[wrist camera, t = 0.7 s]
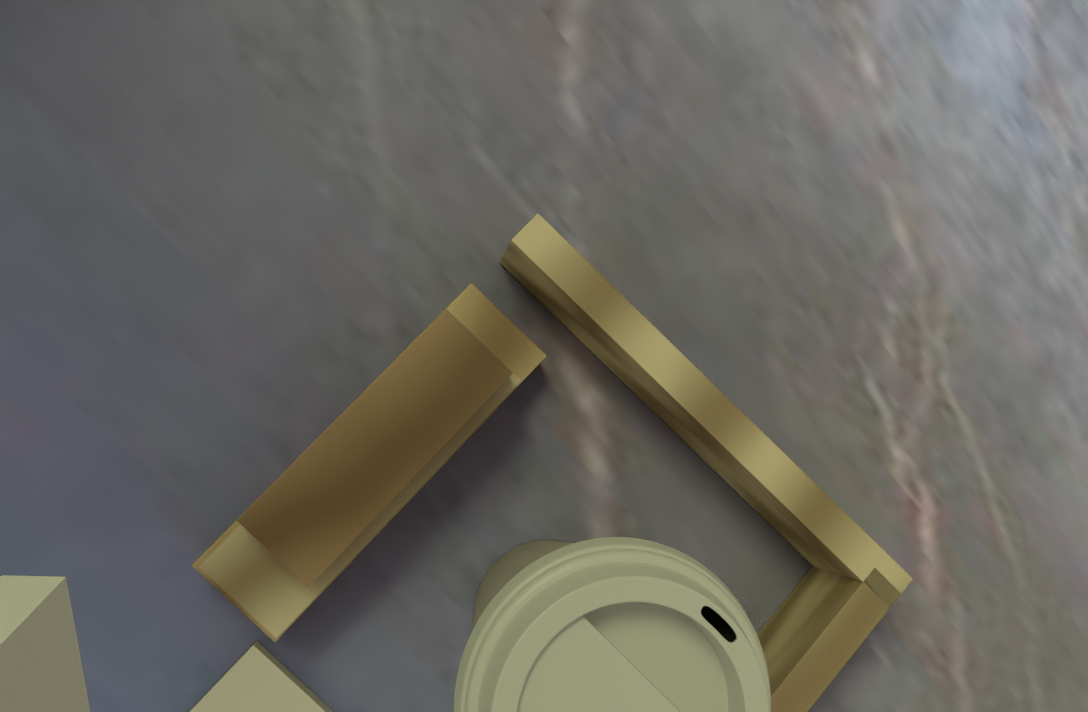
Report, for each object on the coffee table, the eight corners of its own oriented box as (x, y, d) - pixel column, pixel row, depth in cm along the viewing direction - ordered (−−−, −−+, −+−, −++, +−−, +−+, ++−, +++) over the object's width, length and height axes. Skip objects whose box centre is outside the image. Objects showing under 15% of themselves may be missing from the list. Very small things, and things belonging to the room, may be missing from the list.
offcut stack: (204, 557, 36) (169, 578, 31) (467, 291, 39) (477, 268, 34) (282, 630, 36) (261, 662, 31) (538, 360, 39) (559, 348, 34)
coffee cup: (683, 665, 39) (850, 803, 24) (489, 764, 37) (543, 976, 23) (600, 470, 39) (716, 490, 25) (404, 559, 38) (401, 637, 23)
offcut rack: (155, 610, 36) (120, 634, 31) (523, 238, 40) (537, 213, 35) (536, 960, 37) (554, 1031, 32) (858, 563, 41) (913, 578, 36)
